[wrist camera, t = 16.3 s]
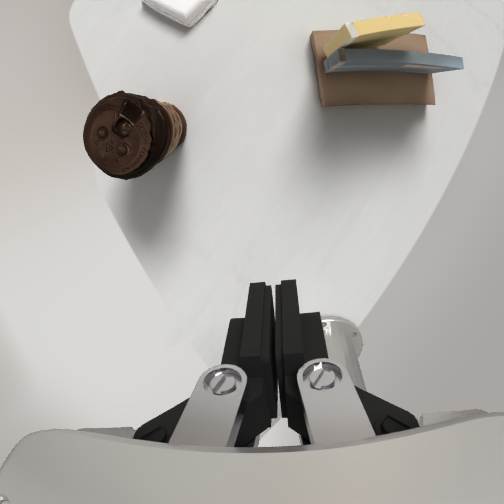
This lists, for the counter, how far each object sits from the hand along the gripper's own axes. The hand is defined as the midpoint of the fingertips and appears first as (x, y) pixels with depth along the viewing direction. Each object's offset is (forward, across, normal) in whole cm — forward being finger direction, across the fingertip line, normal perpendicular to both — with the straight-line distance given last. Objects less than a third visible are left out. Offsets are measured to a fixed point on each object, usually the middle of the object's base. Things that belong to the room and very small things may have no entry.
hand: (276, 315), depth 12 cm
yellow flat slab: (+24, -10, -15) cm, 30 cm away
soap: (+28, +8, -26) cm, 39 cm away
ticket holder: (+28, -13, -13) cm, 33 cm away
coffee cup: (+28, +13, -8) cm, 32 cm away
